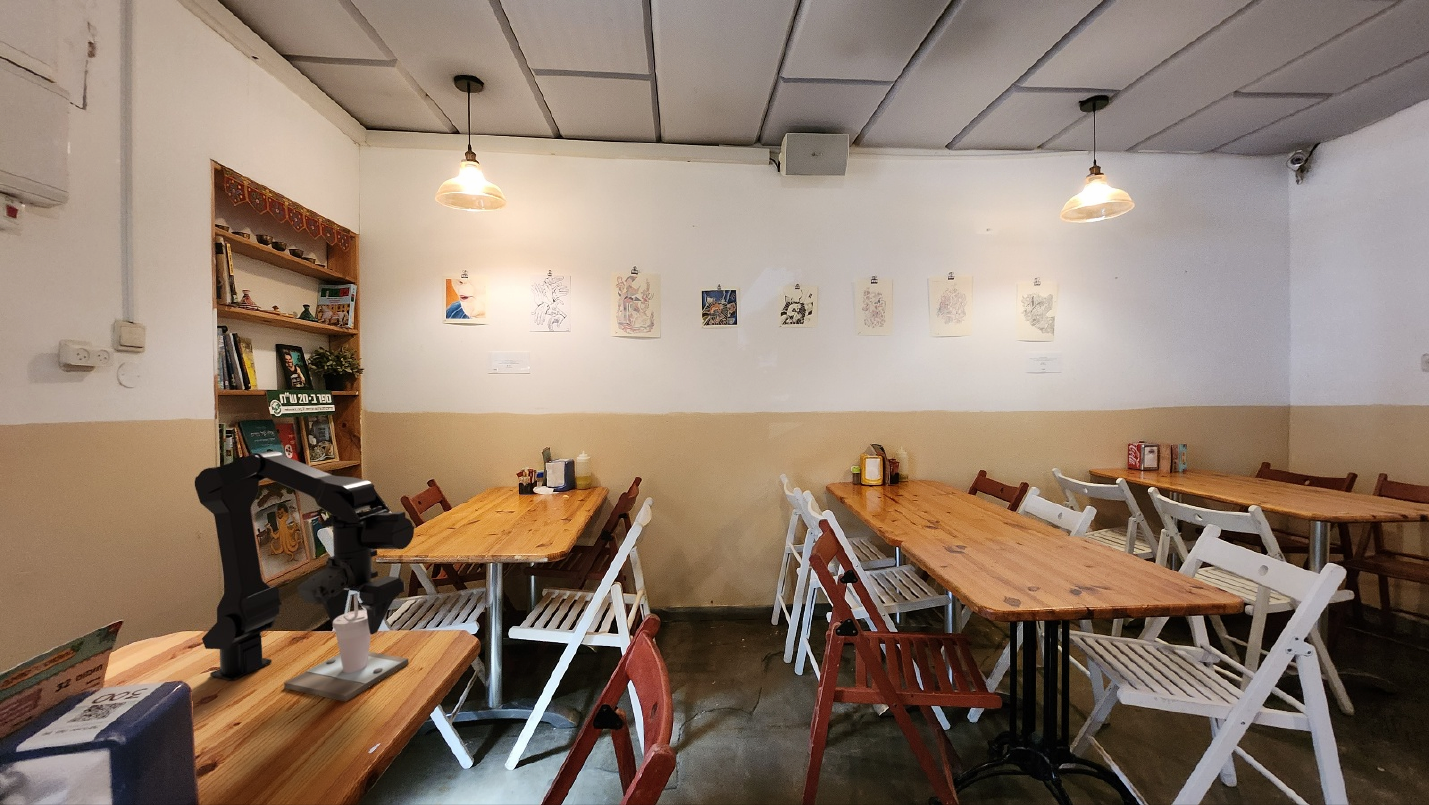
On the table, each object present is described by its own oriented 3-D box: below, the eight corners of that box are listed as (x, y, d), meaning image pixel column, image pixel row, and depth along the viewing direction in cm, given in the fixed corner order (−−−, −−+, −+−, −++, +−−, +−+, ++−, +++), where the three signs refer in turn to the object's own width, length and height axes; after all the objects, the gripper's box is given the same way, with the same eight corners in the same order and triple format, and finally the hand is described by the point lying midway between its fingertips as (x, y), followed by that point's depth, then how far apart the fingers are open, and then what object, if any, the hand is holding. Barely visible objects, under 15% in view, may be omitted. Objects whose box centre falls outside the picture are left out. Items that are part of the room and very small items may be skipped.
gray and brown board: (284, 688, 87) (284, 680, 87) (351, 653, 98) (351, 647, 98) (345, 701, 82) (345, 694, 82) (408, 663, 94) (408, 657, 94)
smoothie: (353, 678, 87) (351, 602, 87) (324, 675, 88) (322, 599, 88) (384, 659, 94) (382, 588, 93) (356, 656, 95) (354, 586, 95)
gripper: (268, 558, 86) (271, 645, 86) (345, 567, 80) (348, 660, 81) (333, 540, 96) (336, 617, 97) (405, 547, 91) (408, 628, 91)
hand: (355, 630), depth 91 cm, fingers open, 9 cm apart
